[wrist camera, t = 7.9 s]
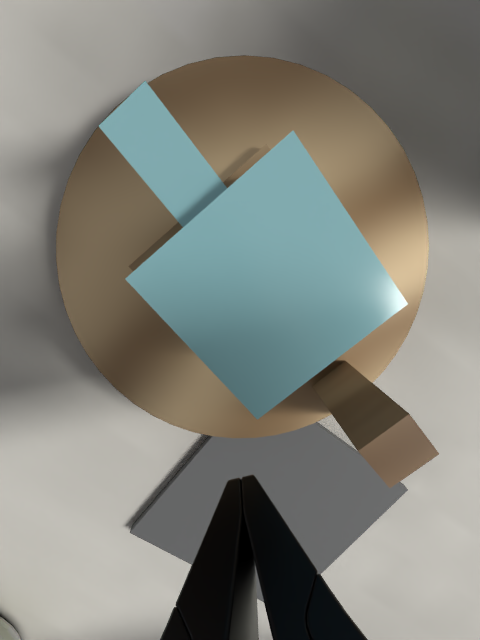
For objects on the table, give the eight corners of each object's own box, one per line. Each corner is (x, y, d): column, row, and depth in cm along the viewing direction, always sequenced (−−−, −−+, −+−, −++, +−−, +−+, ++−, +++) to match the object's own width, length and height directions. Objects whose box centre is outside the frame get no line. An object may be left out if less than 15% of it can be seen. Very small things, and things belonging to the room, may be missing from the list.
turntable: (473, 296, 13) (630, 320, 8) (227, 481, 15) (231, 599, 10) (280, -33, 10) (343, -344, 5) (-16, 251, 11) (-209, 246, 6)
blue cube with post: (329, 284, 12) (407, 303, 7) (242, 353, 12) (257, 419, 7) (214, 126, 10) (207, 1, 5) (119, 214, 11) (28, 176, 6)
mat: (280, 603, 19) (282, 611, 18) (132, 526, 16) (129, 532, 16) (403, 484, 17) (407, 489, 17) (257, 379, 15) (258, 382, 14)
